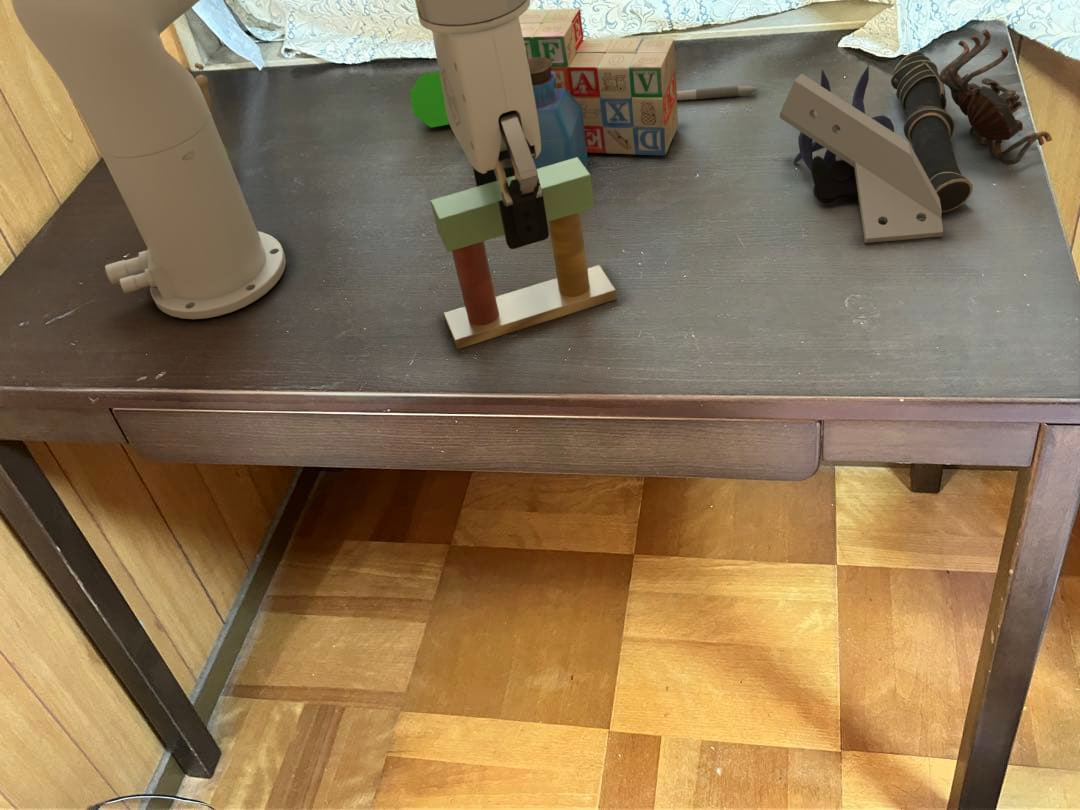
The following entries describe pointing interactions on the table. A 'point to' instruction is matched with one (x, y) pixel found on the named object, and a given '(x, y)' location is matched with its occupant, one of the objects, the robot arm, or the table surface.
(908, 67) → the armor
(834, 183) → the figurine
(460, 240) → the bar
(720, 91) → the pen
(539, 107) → the perfume bottle
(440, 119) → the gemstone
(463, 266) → the rod stand
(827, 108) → the bracket
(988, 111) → the toy
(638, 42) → the stack of blocks
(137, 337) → the table surface
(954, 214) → the table surface
